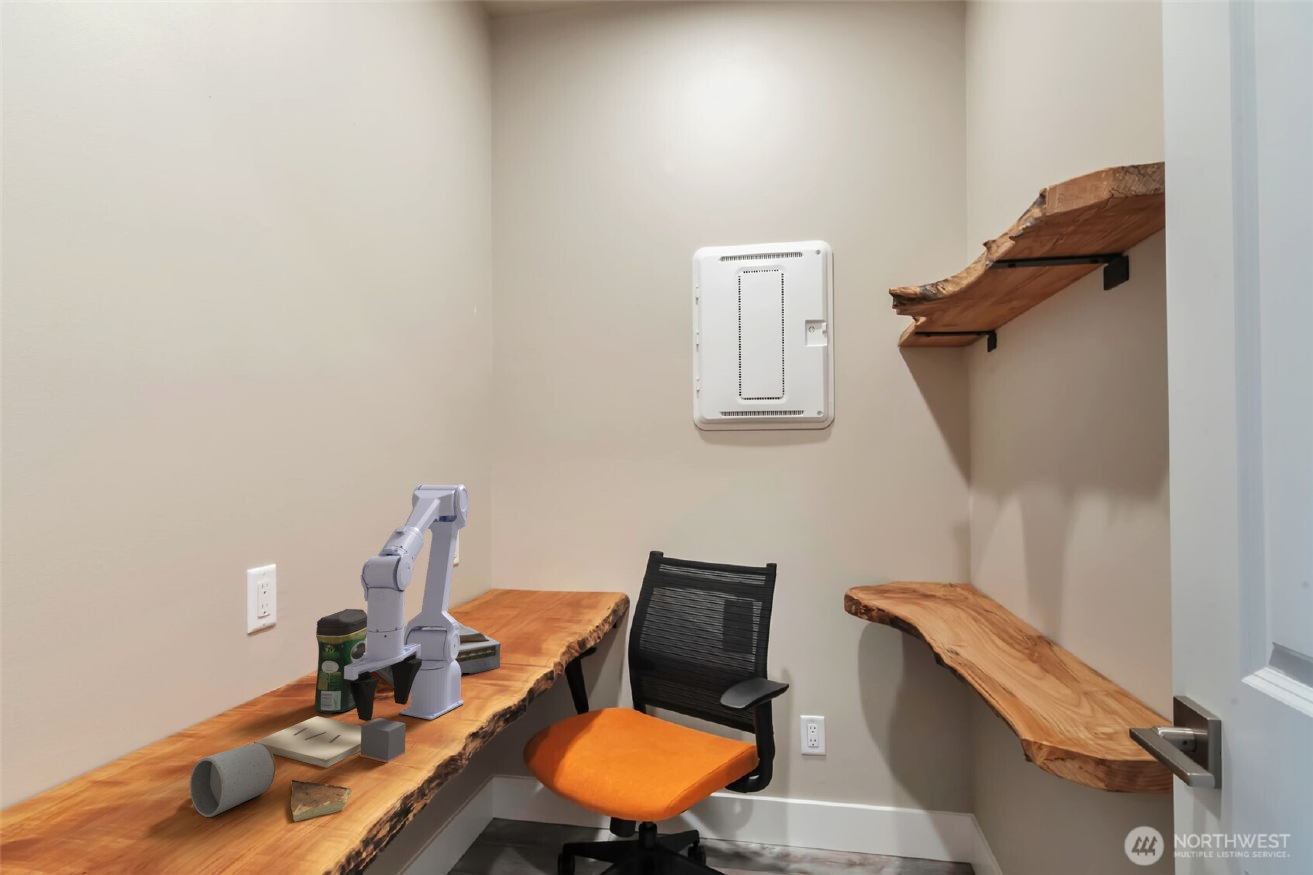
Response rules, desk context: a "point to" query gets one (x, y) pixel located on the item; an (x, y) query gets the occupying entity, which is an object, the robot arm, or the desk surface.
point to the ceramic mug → (231, 778)
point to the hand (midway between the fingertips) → (383, 711)
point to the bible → (465, 653)
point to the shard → (316, 799)
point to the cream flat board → (316, 741)
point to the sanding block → (383, 739)
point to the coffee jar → (338, 657)
